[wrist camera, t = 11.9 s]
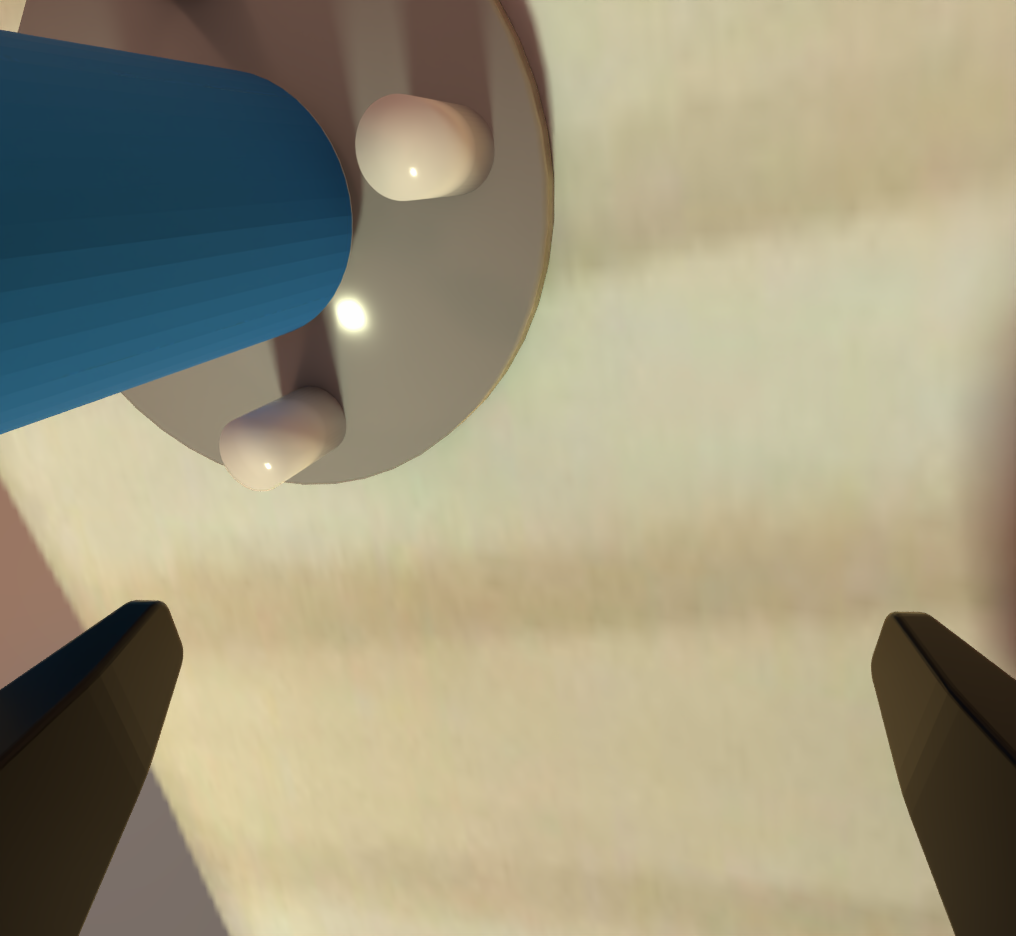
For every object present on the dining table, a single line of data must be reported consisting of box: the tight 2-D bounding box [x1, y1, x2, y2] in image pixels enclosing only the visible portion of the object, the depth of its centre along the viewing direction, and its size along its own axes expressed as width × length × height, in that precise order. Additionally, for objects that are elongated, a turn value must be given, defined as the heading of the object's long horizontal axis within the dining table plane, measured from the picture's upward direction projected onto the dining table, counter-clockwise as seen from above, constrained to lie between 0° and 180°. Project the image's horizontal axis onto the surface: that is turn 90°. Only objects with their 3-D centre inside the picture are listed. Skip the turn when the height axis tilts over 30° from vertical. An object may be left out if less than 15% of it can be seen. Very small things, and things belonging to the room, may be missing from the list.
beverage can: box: [0, 30, 353, 434], centre depth 15 cm, size 6×6×12 cm
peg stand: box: [18, 0, 554, 491], centre depth 19 cm, size 16×16×4 cm
